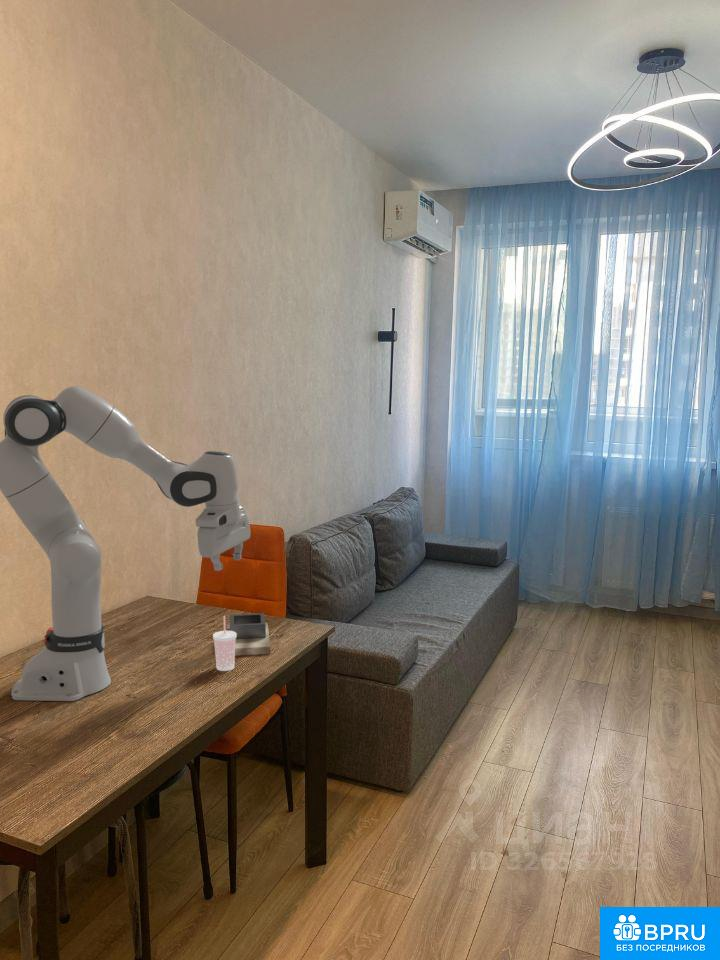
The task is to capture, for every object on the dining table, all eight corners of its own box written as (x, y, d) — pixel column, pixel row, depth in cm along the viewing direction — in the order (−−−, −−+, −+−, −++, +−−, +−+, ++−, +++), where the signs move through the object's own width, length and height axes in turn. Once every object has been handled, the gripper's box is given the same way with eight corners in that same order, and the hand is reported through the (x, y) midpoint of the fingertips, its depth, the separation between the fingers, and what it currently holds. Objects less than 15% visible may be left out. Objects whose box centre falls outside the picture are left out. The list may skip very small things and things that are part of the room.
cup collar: (229, 639, 210) (229, 626, 209) (230, 627, 220) (229, 614, 219) (265, 637, 212) (265, 624, 211) (264, 626, 221) (264, 613, 221)
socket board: (226, 656, 203) (225, 649, 203) (227, 631, 223) (226, 624, 223) (270, 653, 205) (270, 646, 205) (267, 629, 225) (267, 622, 224)
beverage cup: (223, 661, 200) (222, 610, 198) (242, 665, 197) (241, 614, 195) (208, 669, 194) (207, 617, 192) (227, 673, 191) (226, 621, 189)
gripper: (233, 504, 204) (237, 553, 207) (191, 521, 186) (196, 575, 188) (254, 505, 202) (258, 554, 204) (213, 522, 183) (218, 576, 186)
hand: (228, 564), depth 196 cm, fingers open, 8 cm apart
